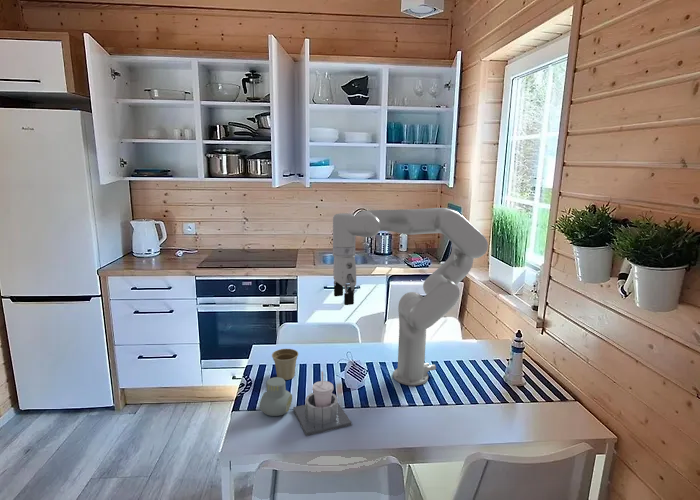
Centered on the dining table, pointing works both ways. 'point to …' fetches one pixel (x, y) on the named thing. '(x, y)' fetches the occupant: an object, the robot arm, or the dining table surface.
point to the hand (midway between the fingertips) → (343, 300)
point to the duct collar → (321, 416)
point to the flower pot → (285, 363)
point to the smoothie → (322, 392)
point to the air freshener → (275, 398)
